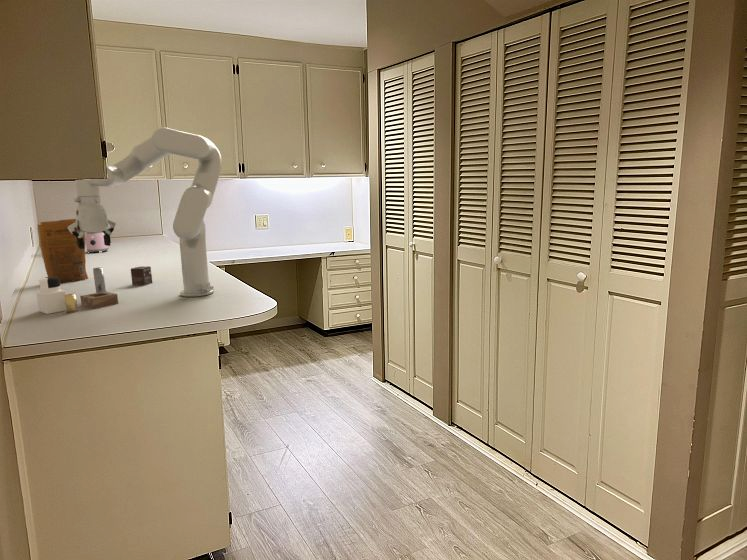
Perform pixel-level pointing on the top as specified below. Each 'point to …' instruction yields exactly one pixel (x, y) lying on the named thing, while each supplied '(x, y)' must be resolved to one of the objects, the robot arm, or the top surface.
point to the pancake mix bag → (62, 251)
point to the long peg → (99, 279)
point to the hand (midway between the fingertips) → (94, 247)
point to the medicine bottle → (51, 296)
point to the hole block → (99, 299)
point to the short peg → (71, 303)
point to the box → (141, 275)
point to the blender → (95, 241)
